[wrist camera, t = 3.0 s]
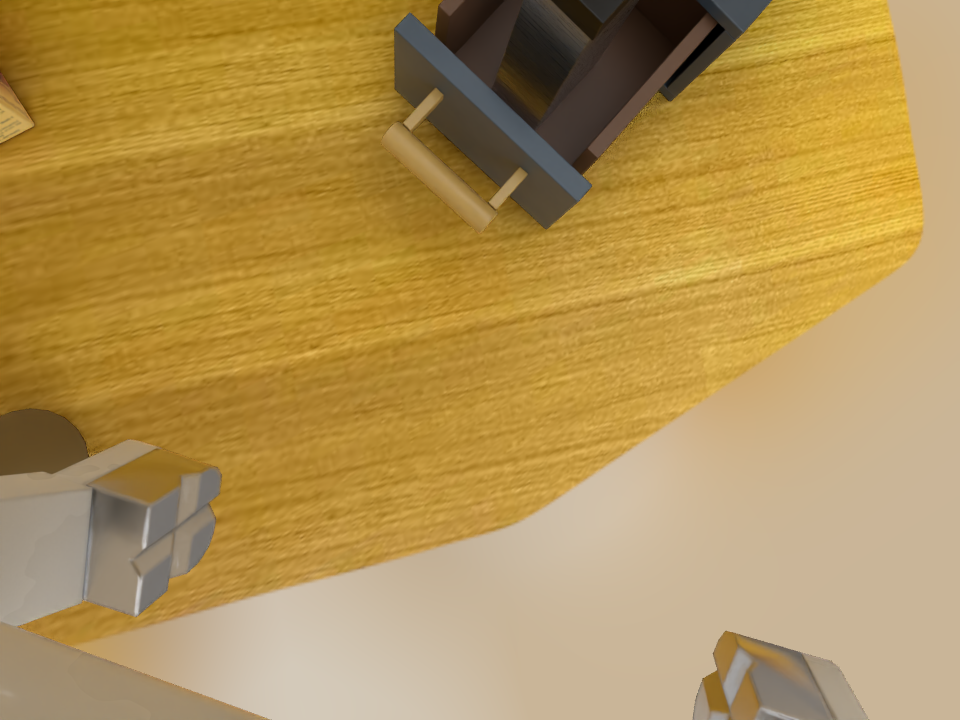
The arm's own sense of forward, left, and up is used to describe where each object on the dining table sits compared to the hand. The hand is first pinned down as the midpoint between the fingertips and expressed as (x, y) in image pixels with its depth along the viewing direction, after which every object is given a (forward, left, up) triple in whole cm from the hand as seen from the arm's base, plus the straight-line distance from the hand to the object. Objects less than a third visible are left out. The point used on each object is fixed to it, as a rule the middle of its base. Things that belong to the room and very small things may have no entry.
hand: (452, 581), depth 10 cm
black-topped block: (-8, +21, -27) cm, 34 cm away
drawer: (-7, +19, -28) cm, 35 cm away
